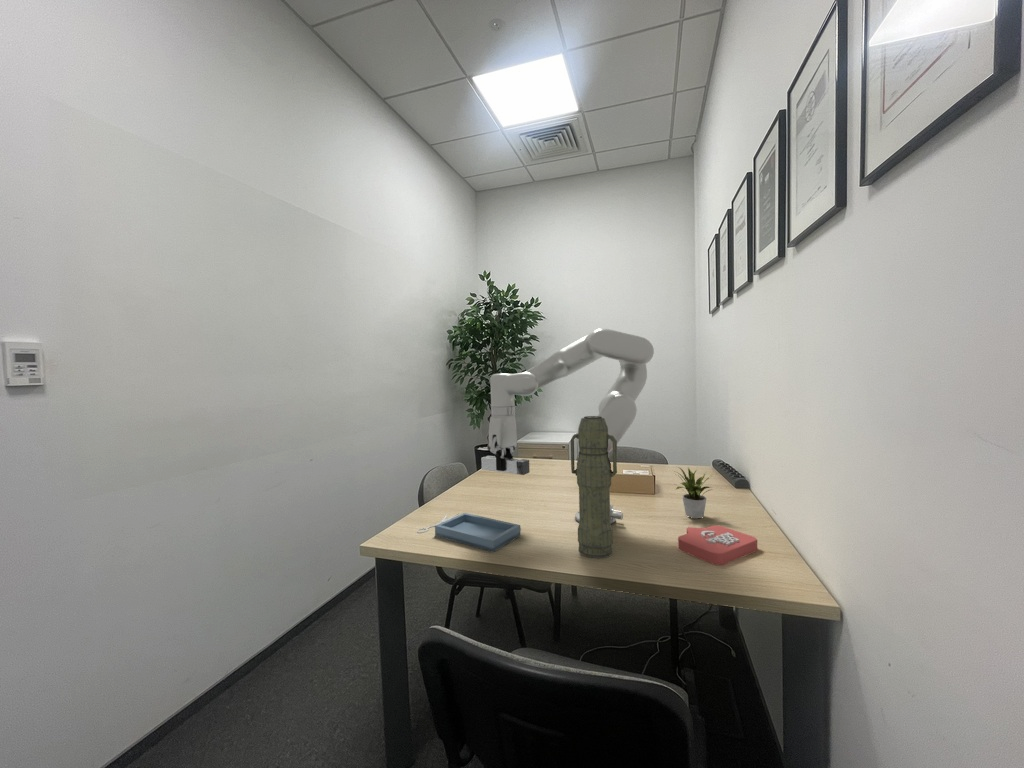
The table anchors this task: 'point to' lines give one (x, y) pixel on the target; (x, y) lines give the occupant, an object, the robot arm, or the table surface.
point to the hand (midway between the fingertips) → (504, 468)
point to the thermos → (594, 486)
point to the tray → (478, 531)
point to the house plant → (693, 495)
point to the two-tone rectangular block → (506, 465)
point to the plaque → (717, 544)
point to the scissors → (435, 524)
